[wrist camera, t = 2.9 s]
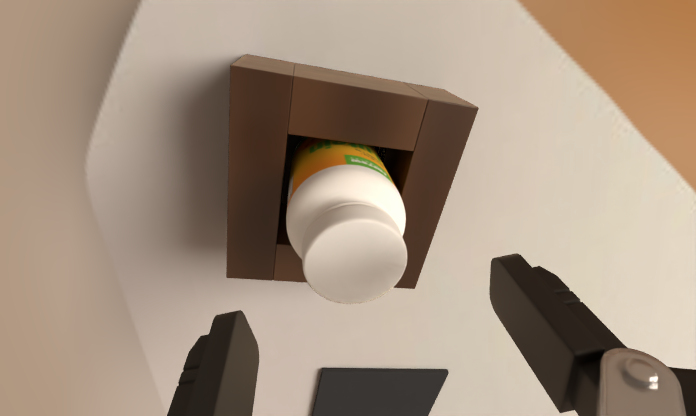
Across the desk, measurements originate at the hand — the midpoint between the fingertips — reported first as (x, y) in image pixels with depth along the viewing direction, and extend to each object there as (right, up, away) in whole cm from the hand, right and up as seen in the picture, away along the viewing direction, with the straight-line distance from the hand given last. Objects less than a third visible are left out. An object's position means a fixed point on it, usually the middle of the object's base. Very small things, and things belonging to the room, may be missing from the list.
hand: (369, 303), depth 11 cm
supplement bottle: (-2, +6, +10) cm, 12 cm away
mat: (+2, -17, +23) cm, 29 cm away
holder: (-2, +6, +10) cm, 12 cm away
